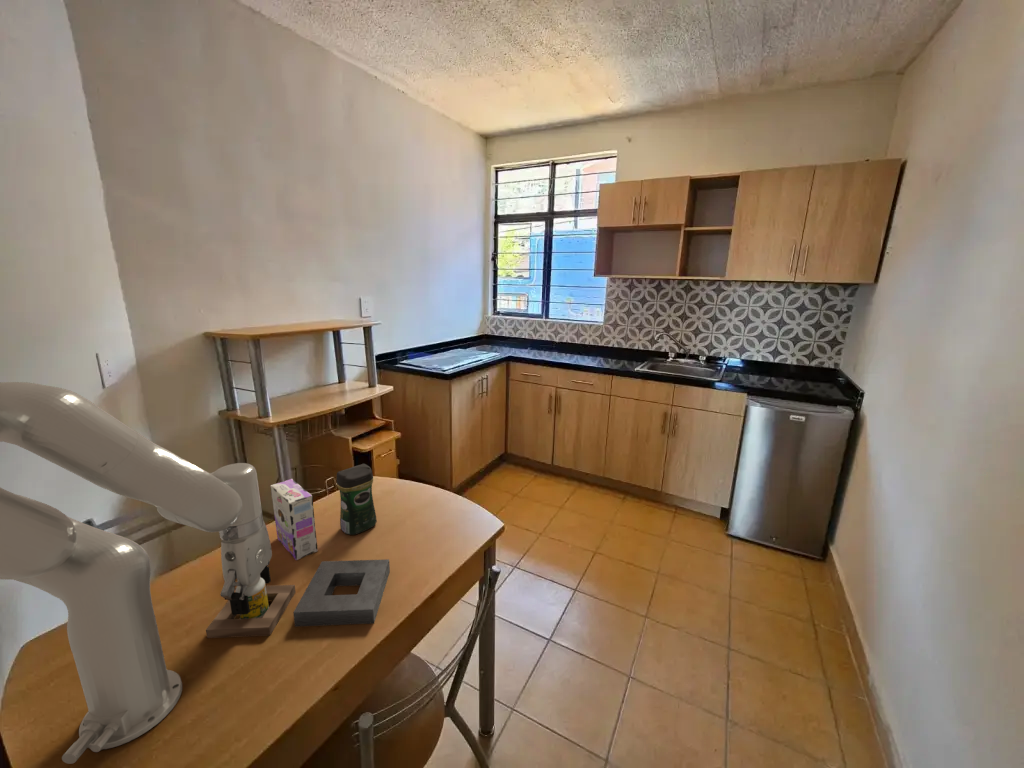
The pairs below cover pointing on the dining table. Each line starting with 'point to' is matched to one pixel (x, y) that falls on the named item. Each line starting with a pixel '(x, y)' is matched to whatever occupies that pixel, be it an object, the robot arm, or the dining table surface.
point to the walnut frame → (253, 626)
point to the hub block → (343, 609)
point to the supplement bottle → (255, 598)
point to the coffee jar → (356, 499)
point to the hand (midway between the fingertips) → (252, 597)
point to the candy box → (294, 518)
